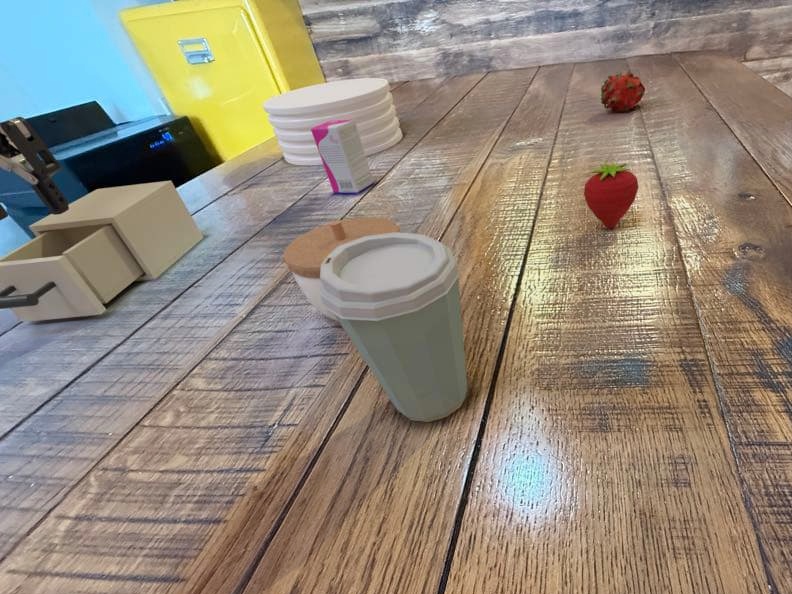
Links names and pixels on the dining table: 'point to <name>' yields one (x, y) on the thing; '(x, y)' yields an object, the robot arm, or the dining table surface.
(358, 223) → the lidded bowl
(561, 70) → the dining table surface
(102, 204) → the cabinet
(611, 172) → the strawberry
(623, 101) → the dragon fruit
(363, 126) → the plate stack
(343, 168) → the supplement box
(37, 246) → the drawer
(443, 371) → the disposable coffee cup
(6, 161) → the robot arm
